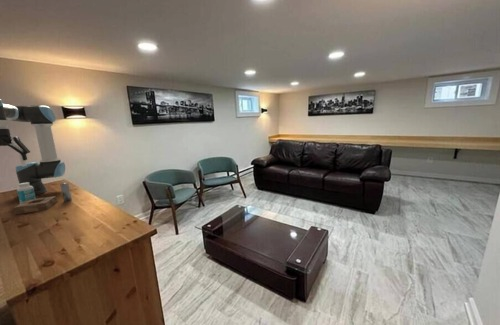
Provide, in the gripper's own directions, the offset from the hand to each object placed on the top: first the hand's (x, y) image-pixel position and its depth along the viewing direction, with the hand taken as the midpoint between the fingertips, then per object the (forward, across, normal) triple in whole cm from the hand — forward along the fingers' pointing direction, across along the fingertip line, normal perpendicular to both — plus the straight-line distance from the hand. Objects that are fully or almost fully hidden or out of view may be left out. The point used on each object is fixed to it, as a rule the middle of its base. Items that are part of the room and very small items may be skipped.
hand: (8, 167), depth 113 cm
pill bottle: (+28, -7, +22) cm, 36 cm away
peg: (+28, +16, +16) cm, 36 cm away
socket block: (+28, +4, +9) cm, 29 cm away
